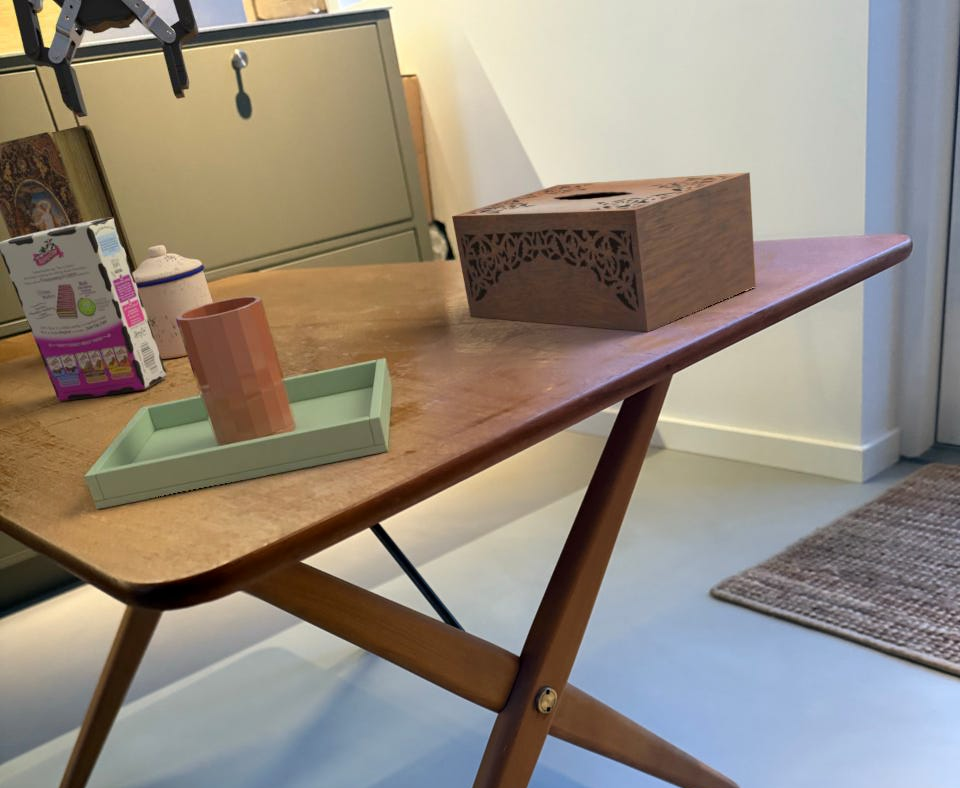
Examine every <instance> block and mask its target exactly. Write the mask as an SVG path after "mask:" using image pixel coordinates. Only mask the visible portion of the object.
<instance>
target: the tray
mask: <svg viewBox="0 0 960 788" xmlns="http://www.w3.org/2000/svg"><path fill="white" fill-rule="evenodd" d="M284 381H285V384H286V388H287V392H288V395H289V399H290V402H291V406H292V409H293V413H294V417H295V418H294V419H295V423H296V428H295V429H294V431H292V432H287V433H282V434H277V435H272V436H267V437H262V438H257V439H252V440H247V441H242V442H237V443H232V444H228V445H223V446H217V443H216V440H215V438H214V436H213V433H212V430H211V427H210V424H209V421H208V418H207V415H206V411H205V408H204V405H203V402H202V399H201V396H200V395H195V396H190V397H186V398H181V399H176V400H169V401H166V402H161V403H160V402H159V403H156V404H152V405H151V404H150V405H146V406H141V407H140V408H139V409H138V410H137V412H136V413H135V414H134V415H133V417H132V418H131V419H130V420H129V421H128V423H127V424H126V425H125V426H124V427H123V429H122V430H121V431H120V432H119V434H118V435H117V436H116V437H115V438H114V440H113V441H111V443H110V444H109V445H108V447H107V448H106V449H105V451H104V452H103V453H102V454H101V455H100V456H99V457H98V459H97V460H96V461H95V463H94V464H93V465H92V466H91V467H90V468H89V470H88V471H87V472H86V474H84V477H83V478H84V480H85V483H86V485H87V488H88V490H89V492H90V495H91V497H92V501H93V502H94V506H95V508H96V510H101V509H105V508H111V507H115V506H121V505H125V504H131V503H137V502H141V501H147V500H151V499H156V498H161V497H165V496H164V495H166V496H170V495H169V494H171V495H174V494H173V493H176V494H178V493H177V492H181V493H183V492H182V491H186V492H189V491H188V490H191V491H194V490H193V489H196V490H200V489H199V488H202V489H205V488H204V487H207V488H210V487H209V486H212V487H215V486H214V485H217V486H221V485H220V484H222V485H225V483H227V484H230V483H231V482H232V483H236V481H237V482H241V480H242V481H246V480H251V479H256V478H261V477H266V476H271V475H276V474H281V473H287V472H292V471H296V470H301V469H307V468H312V467H316V466H322V465H327V464H331V463H335V462H336V463H337V462H341V461H346V460H351V459H356V458H361V457H366V456H371V455H377V454H382V453H386V452H389V440H390V439H389V438H390V424H391V408H392V395H393V394H392V392H393V384H392V381H391V376H390V372H389V368H388V362H387V359H386V357H382V358H378V359H373V360H367V361H363V362H358V363H353V364H348V365H344V366H338V367H333V368H328V369H325V370H324V369H323V370H319V371H313V372H308V373H303V374H299V375H293V376H289V377H284ZM158 496H159V497H158ZM160 496H161V497H160ZM155 497H156V498H155ZM150 498H151V499H150Z"/></svg>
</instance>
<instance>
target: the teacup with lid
mask: <svg viewBox="0 0 960 788" xmlns="http://www.w3.org/2000/svg"><path fill="white" fill-rule="evenodd" d="M147 253H148V256H149V257H148V258H146V259H144V260H143V261H142V262H141V263H140V264H139V266H137V267H138V268H137V270H135V271H134V272H133V273H132V274H133V276H134V280H135V282H136V285H137V288H138V292H139V295H140V298H141V300H142V303H143V306H144V309H145V312H146V315H147V318H148V321H149V324H150V327H151V330H152V333H153V336H154V339H155V342H156V344H157V347H158V350H159V353H160V356H161V359H162V360H168V359H176V358H181V357H186V356H187V352H186V349H185V346H184V343H183V340H182V337H181V334H180V331H179V328H178V325H177V321H176V317H177V316H178V315H179V314H181V313H183V312H185V311H187V310H190V309H193V308H196V307H199V306H202V305H205V304H209V303H213V298H212V296H211V292H210V288H209V285H208V282H207V280H206V275H205V272H204V270H205V265H204V264H203V263H202V261H201V260H199V259H198V258H197V259H196V258H188V257H184V256H182V255H180V254H178V253H172V252H171V253H167V248H166V246H165V245H163V244H159V245H154V246H150V247H148V249H147ZM187 357H188V356H187Z"/></svg>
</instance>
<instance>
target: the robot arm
mask: <svg viewBox="0 0 960 788" xmlns="http://www.w3.org/2000/svg"><path fill="white" fill-rule="evenodd" d="M52 2H54V3H55V4H56V5H57V6H58V7H59V8H60V13H59V16H58V18H57V21H56V24H55V31H54V32H55V33H54V35H53V38H52V41H51V44H50V47H48V46H45V43H44V38H43V34H42V29H41V25H40V20H39V17H38V14H39V13H41V12H42V11H43V9H44V0H12V5H13V9H14V12H15V13H14V14H15V17H16V21H17V27H18V30H19V33H20V39H21V43H22V47H23V52H24V54H25V56H26V57H27V59H29V60H31V61H32V63H33V64H35V66H37V67H47V68H51V69H53V72H54V75H55V78H56V81H57V85H58V89H59V92H60V96H61V100H62V102H63V103H64V105H65V106H66V109H68V110H69V111H70V112H73V113H74V115H76V116H77V117H78V118H84V117H88V111H87V108H86V104H85V100H84V97H83V93H82V89H81V85H80V83H79V79H78V76H77V72H76V69H74V67H72V62H73V61H74V57H75V55H76V52H77V49H78V48H79V47H80V46H81V43H82V40H83V38H84V36H85V33H86V31H87V32H92V33H93V35H94V34H101V33H104V32H106V31H108V30H110V29H120V30H123V29H129V28H131V26H130V25H132V24H134V22H135V21H137V22H138V23H139V24H140V25H142V27H144V28H145V29H146V30H147V31H148V32H149V33H150V34H152V35H153V36H154V37H156V39H157V40H159V42H161V43H162V44H163V45H161V49H162V53H163V57H164V60H165V61H164V62H165V65H166V68H167V73H168V76H169V81H170V84H171V88H172V92H173V94H174V96H175V98H176V99H177V100H178V99H183V98H184V99H185V98H186V95H185V90H189V89H190V79H189V74H188V71H187V67H186V63H185V59H184V55H183V46H184V44H185V43H186V42H188V41H190V40H191V39H192V40H193V39H196V38H197V37H198V36H199V27H198V25H197V21H196V18H195V14H194V10H193V7H192V4H191V1H190V0H172V2H173V5H174V8H175V11H176V15H177V17H178V21H176V22H175V23H173V24H172V25H169V24H168V23H167V22H166V21H165V20H164V19H163V18H162V17H161V16H160V15H158V13H157V12H156V11H155V10H154V9H153V8H152V7H151V6H150V5H149V4H148V3H147V2H146V1H145V0H52Z"/></svg>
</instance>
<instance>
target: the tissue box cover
mask: <svg viewBox="0 0 960 788" xmlns="http://www.w3.org/2000/svg"><path fill="white" fill-rule="evenodd" d="M751 189H752V188H751V173H750V172H739V173H738V172H734V173H721V174H707V175H692V176H691V175H690V176H689V175H688V176H675V177H674V176H673V177H672V176H671V177H657V178H645V179H643V178H642V179H629V180H627V179H626V180H612V181H611V180H610V181H600V182H599V181H597V182H583V183H568V184H564V183H563V184H556V185H553V186H549V187H545V188H543V189H539V190H535V191H533V192H529V193H526V194H522V195H519V196H516V197H512V198H509V199H506V200H502V201H499V202H495V203H493V204H488V205H486V206H485V205H484V206H482V207H478V208H475V209H472V210H468V211H465V212H461V213H459V214H454V215H452V216H451V218H452V224H453V230H454V236H455V240H456V245H457V251H458V257H459V261H460V266H461V273H462V277H463V283H464V289H465V293H466V299H467V304H468V305H467V306H468V311H469V315H470V317H473V318H484V319H497V320H506V321H507V320H508V321H518V322H519V321H520V322H531V323H541V324H554V325H564V326H565V325H566V326H576V327H578V326H579V327H589V328H598V329H599V328H600V329H609V330H610V329H611V330H622V331H632V332H633V331H634V332H645V333H648V332H652V331H654V330H656V329H659V328H661V327H664V326H666V325H668V324H671V323H673V322H675V320H676V321H678V320H680V319H679V318H681V317H683V318H686V317H687V315H688V316H690V315H693V314H695V313H698V312H700V311H702V310H704V308H705V309H707V308H709V307H708V306H710V305H712V306H714V305H713V304H715V303H717V302H719V301H722V300H724V299H727V298H729V297H732V296H734V295H736V294H739V293H741V292H743V291H745V290H747V289H750V288H752V287H755V286H756V287H757V285H756V264H755V263H756V262H755V245H754V230H753V227H754V226H753V209H752V190H751ZM739 295H740V294H739ZM734 297H735V296H734ZM732 298H733V297H732ZM729 299H730V298H729ZM727 300H728V299H727ZM724 301H725V300H724ZM722 302H723V301H722ZM717 304H718V303H717ZM715 305H716V304H715ZM706 307H707V308H706ZM710 307H711V306H710ZM701 309H702V310H701ZM699 310H700V311H699ZM697 311H698V312H697ZM694 312H695V313H694ZM692 313H693V314H692ZM677 319H678V320H677ZM681 319H682V318H681ZM670 322H671V323H670Z"/></svg>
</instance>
